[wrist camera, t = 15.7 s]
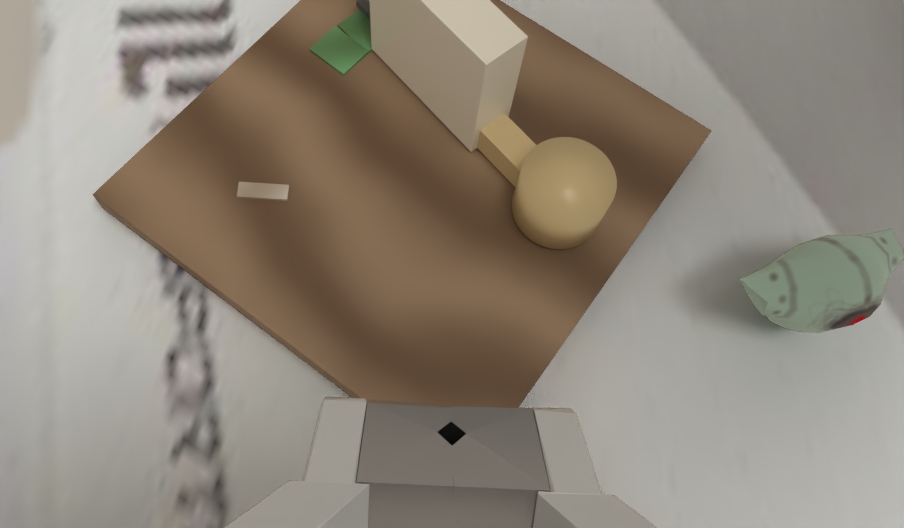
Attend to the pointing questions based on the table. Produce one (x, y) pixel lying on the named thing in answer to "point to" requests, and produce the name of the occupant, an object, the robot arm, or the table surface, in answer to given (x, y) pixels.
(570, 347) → the table surface
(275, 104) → the brown wooden board
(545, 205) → the toy meat cleaver
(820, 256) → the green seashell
